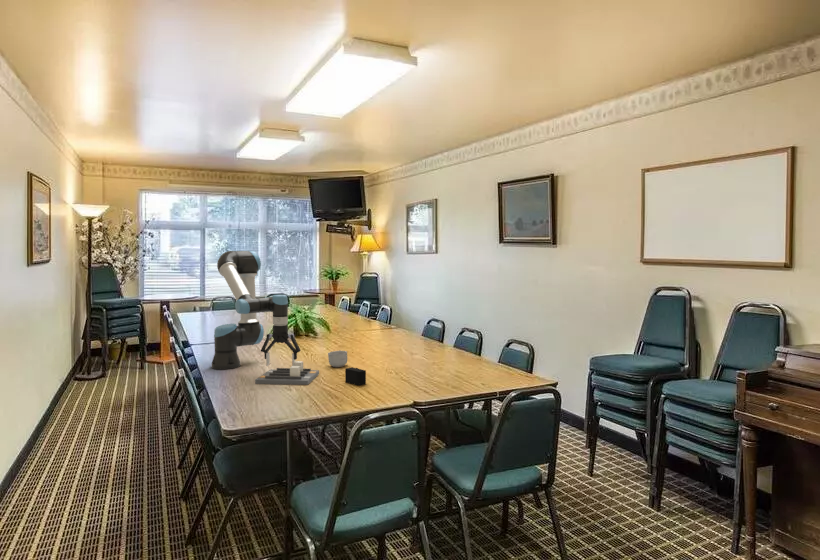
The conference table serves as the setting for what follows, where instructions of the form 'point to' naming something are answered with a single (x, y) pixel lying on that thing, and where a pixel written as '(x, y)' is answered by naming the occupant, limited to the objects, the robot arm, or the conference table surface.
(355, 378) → the digital camera
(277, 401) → the conference table surface
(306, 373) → the switch base
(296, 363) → the slider far
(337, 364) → the teacup
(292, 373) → the slider near
